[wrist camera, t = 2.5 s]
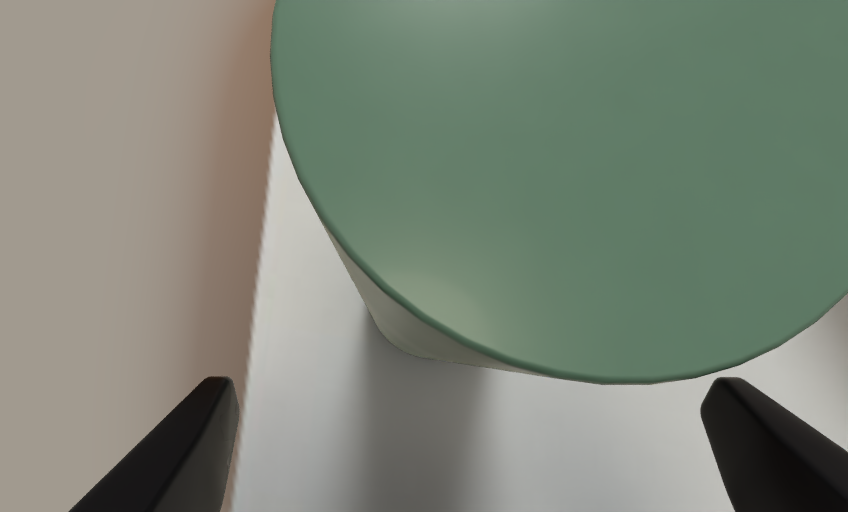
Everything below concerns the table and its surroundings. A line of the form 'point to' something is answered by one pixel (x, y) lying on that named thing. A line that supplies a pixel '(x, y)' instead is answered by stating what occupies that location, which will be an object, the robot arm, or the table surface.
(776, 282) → the cylinder
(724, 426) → the robot arm
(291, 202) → the table surface
